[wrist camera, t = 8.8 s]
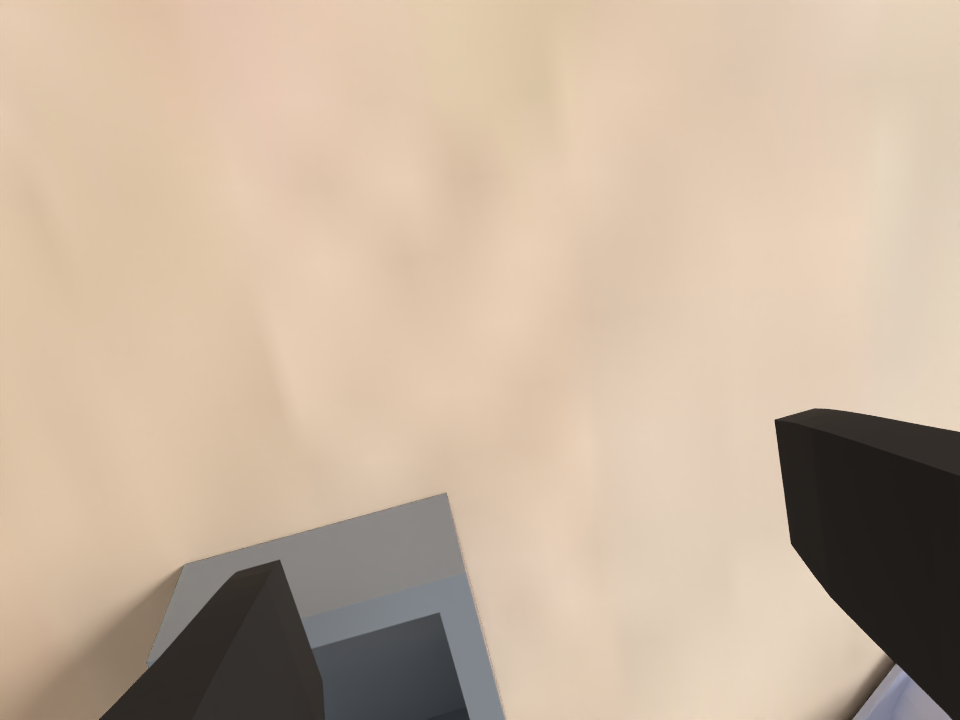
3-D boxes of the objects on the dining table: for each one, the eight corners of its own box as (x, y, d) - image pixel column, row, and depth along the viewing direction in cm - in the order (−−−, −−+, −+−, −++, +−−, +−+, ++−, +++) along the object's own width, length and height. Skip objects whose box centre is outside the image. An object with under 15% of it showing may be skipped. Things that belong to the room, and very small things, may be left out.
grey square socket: (446, 493, 23) (465, 572, 19) (502, 705, 25) (531, 818, 21) (184, 564, 22) (145, 662, 18) (265, 775, 24) (247, 905, 20)
